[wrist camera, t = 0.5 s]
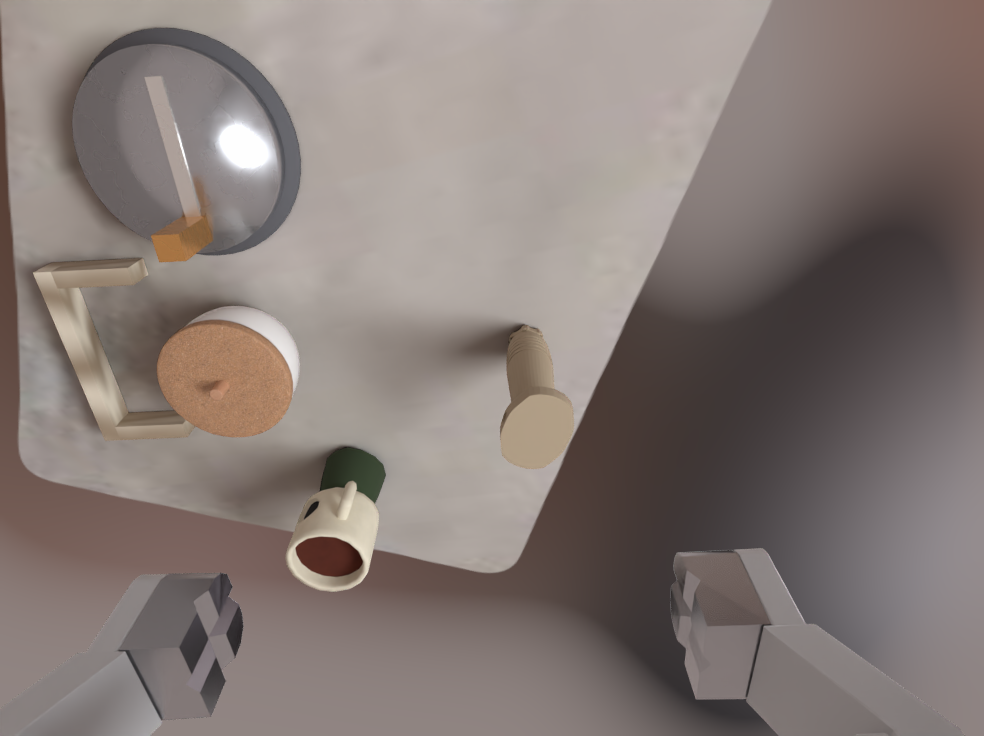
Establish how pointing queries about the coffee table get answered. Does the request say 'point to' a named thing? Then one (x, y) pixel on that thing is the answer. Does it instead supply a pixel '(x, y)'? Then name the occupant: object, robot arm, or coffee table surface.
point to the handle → (533, 404)
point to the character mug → (338, 523)
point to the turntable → (178, 148)
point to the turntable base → (265, 93)
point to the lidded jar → (230, 371)
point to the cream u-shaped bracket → (100, 346)
